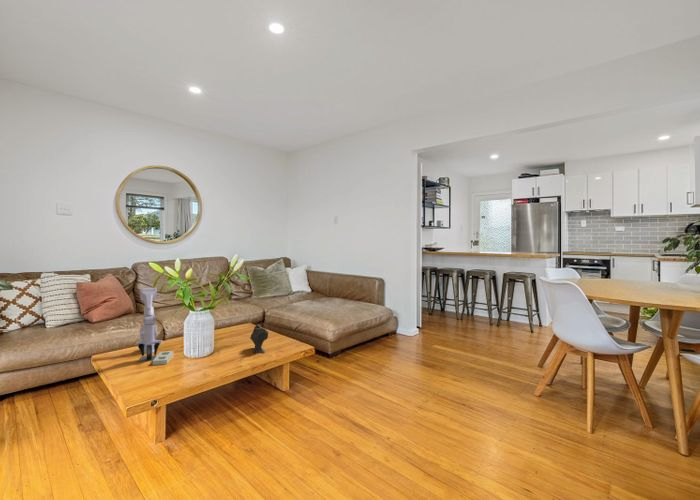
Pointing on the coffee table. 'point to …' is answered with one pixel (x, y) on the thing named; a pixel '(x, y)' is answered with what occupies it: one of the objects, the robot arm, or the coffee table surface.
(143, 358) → the rubber mat
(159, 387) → the coffee table surface
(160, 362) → the socket block
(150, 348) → the steel peg
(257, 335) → the dark grey faceted sculpture
